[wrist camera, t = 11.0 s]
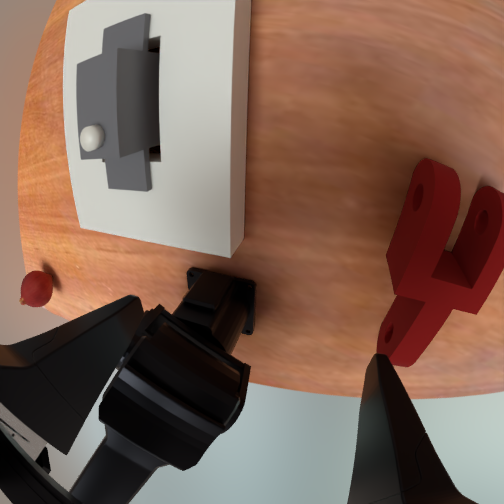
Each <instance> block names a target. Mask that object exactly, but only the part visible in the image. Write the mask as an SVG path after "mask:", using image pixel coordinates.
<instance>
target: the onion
mask: <svg viewBox="0 0 504 504" xmlns="http://www.w3.org/2000/svg"><path fill="white" fill-rule="evenodd" d="M52 293H53V277H52V276H51V275H50V274H47V273H44V272H41V271H32V272H30V273H28V274H27V275H26V276H25V278H24V279H23V282H22V285H21V298H20V300H19V302H20V304H21V305H24V304H27V305H29V306H32V307H41V306H44V305H45V304H47V303H48V302H49V300H50V299H51V296H52Z"/></svg>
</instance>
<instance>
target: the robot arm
mask: <svg viewBox="0 0 504 504" xmlns="http://www.w3.org/2000/svg"><path fill="white" fill-rule="evenodd" d="M192 273H193V274H194V275H193V274H192ZM187 281H188V289H189V291H188V292H187V293H186V295H185V296H184V297H183V301H182V302H181V303H180V305H179V306H178V307H177V308H176V310H175V311H174V312H173V314H170V313H169V312H168V311H166V310H165V308H164V307H163V306H162V305H160V304H159V305H158V306H157V307H156V308H155V309H154V310H153V309H151V310H150V311H148V310H146V311H145V312H144V311H143V307H142V304H141V300H140V298H139V297H138V296H135V295H128V296H125V297H123V298H121V299H119V300H116V301H114V302H112V303H110V304H107V305H105V306H103V307H101V308H98V309H96V310H94V311H92V312H89V313H87V314H85V315H83V316H81V317H78V318H76V319H74V320H72V321H69V322H67V323H65V324H63V325H61V326H59V327H56V328H54V329H52V330H49V331H47V332H45V333H42V334H40V335H37V336H35V337H32V338H29V339H26V340H24V341H21V342H18V343H15V344H12V345H0V489H1V490H2V491H3V493H4V494H5V495H6V496H7V497H8V499H9V500H10V501H11V502H12V503H13V504H129V502H130V501H131V500H132V499H133V497H134V496H135V495H136V494H137V493H138V492H139V490H140V489H141V488H142V487H143V485H144V484H145V483H146V482H147V481H148V479H149V478H150V477H151V476H152V474H153V473H154V472H155V471H156V470H157V468H159V467H162V466H167V465H172V466H174V467H176V468H178V469H180V470H182V471H184V470H186V469H189V468H191V467H193V466H195V465H196V464H197V463H198V462H199V460H200V459H201V457H202V456H203V454H204V453H205V451H206V450H207V449H208V447H209V446H210V445H211V443H212V442H213V441H214V440H215V439H216V438H217V437H218V436H219V435H220V434H222V433H224V432H225V431H227V430H228V429H229V428H230V427H231V426H232V425H233V424H234V423H235V422H236V420H237V419H238V417H239V415H240V413H241V411H242V409H243V407H244V404H245V399H246V393H247V387H248V381H249V375H250V369H251V366H249V365H248V364H246V363H242V362H241V361H239V360H238V359H236V358H235V357H233V356H231V353H232V351H233V349H234V347H235V345H236V343H237V341H238V338H239V336H240V334H241V333H242V334H246V335H252V334H253V331H254V321H255V303H256V284H255V282H253V281H251V280H247V279H242V278H237V277H232V276H228V275H223V274H218V273H214V272H209V271H205V270H200V269H196V268H190V269H189V270H188V271H187ZM248 285H250V286H251V287H249V286H248ZM115 368H116V369H117V370H118V372H117V373H116V375H115V376H114V378H113V380H112V381H111V383H110V384H109V386H108V387H107V389H106V391H105V392H104V394H103V399H102V402H101V403H100V405H99V421H100V422H102V423H103V424H105V430H106V436H105V437H104V439H103V440H102V442H101V443H100V445H99V446H98V448H97V449H96V451H95V452H94V454H93V455H92V457H91V458H90V460H89V461H88V463H87V464H86V466H85V467H84V469H83V470H82V472H81V474H80V475H79V477H78V478H77V480H76V481H75V483H74V484H73V486H72V487H71V489H70V491H69V492H68V491H67V490H65V489H64V488H63V487H62V486H61V485H60V484H58V483H57V482H56V481H55V480H54V479H53V478H51V477H50V476H49V475H48V474H49V473H50V471H51V469H50V463H49V457H48V450H47V448H46V447H45V445H46V444H47V443H49V444H51V445H52V446H53V447H55V448H56V449H57V450H59V451H60V452H62V453H63V454H65V455H67V454H68V452H69V450H70V449H71V447H72V445H73V443H74V441H75V439H76V437H77V435H78V433H79V431H80V429H81V428H82V426H83V424H84V422H85V420H86V418H87V416H88V415H89V413H90V411H91V409H92V407H93V406H94V404H95V402H96V400H97V399H98V397H99V395H100V393H101V392H102V390H103V388H104V386H105V385H106V383H107V381H108V380H109V378H110V376H111V374H112V373H113V371H114V370H115ZM425 432H426V430H425V428H424V426H423V424H422V422H421V420H420V418H419V416H418V414H417V412H416V410H415V407H414V406H413V404H412V402H411V399H410V398H409V396H408V394H407V392H406V390H405V388H404V386H403V384H402V382H401V380H400V378H399V376H398V375H397V373H396V371H395V369H394V367H393V365H392V363H391V362H390V360H389V358H388V356H387V355H386V354H381V353H376V354H374V356H373V358H372V359H371V361H370V363H369V365H368V367H367V369H366V374H365V381H364V387H363V393H362V399H361V404H360V412H359V423H358V434H357V445H356V452H355V460H354V468H353V474H352V480H351V486H350V492H349V498H348V503H347V504H478V503H476V502H474V501H472V500H470V499H468V498H467V497H465V496H464V495H462V494H461V493H460V492H459V491H458V490H457V488H456V487H455V485H454V483H453V482H452V480H451V478H450V476H449V475H448V473H447V471H446V469H445V468H444V466H443V464H442V463H441V460H440V459H439V457H438V455H437V453H436V452H435V449H434V447H433V445H432V443H431V441H430V439H429V437H428V434H427V433H425Z"/></svg>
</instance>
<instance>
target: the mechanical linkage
mask: <svg viewBox="0 0 504 504" xmlns="http://www.w3.org/2000/svg"><path fill="white" fill-rule="evenodd" d="M460 197H461V188H460V181H459V177H458V175H457V173H456V171H455V170H454V169H452V168H450V167H448V166H445V165H443V164H440V163H438V162H436V161H433V160H430V159H428V158H425V159H423V160H421V161H420V162H419V164H418V165H417V167H416V168H415V170H414V172H413V176H412V179H411V183H410V186H409V190H408V193H407V196H406V200H405V203H404V206H403V209H402V212H401V215H400V218H399V221H398V224H397V227H396V230H395V232H394V235H393V238H392V241H391V243H390V246H389V249H388V251H387V254H386V258H387V262H388V266H389V270H390V275H391V280H392V284H393V289H394V294H396V295H397V296H396V298H395V300H394V302H393V304H392V306H391V308H390V310H389V312H388V313H387V315H386V317H385V319H384V321H383V322H382V325H381V328H380V331H379V336H378V341H377V353H381V354H386V355H387V356H388V358H389V360H390V362H391V363H392V365H396V366H402V367H410V366H411V365H413V364H414V363H415V362H416V360H417V359H418V358H419V357H420V355H421V354H422V353H423V352H424V350H425V349H426V348H427V346H428V345H429V344H430V342H431V341H432V339H433V338H434V337H435V335H436V334H437V332H438V331H439V330H440V328H441V327H442V325H443V324H444V322H445V321H446V319H447V318H448V316H449V315H450V313H451V311H452V310H453V309H456V310H460V311H464V312H468V313H472V314H476V315H477V313H478V312H479V310H480V308H481V307H482V305H483V304H484V302H485V300H486V299H487V297H488V296H489V294H490V292H491V290H492V289H493V287H494V285H495V283H496V282H497V280H498V278H499V276H500V274H501V272H502V271H503V269H504V193H502V192H500V191H498V190H496V189H494V188H493V187H490V186H485V187H482V188H481V189H480V190H478V191H477V192H476V194H475V195H474V197H473V199H472V202H471V205H470V208H469V211H468V213H467V216H466V219H465V221H464V224H463V226H462V229H461V231H460V234H459V236H458V239H457V241H456V243H455V246H454V248H453V250H452V252H448V251H445V250H444V248H445V245H446V243H447V241H448V238H449V236H450V234H451V231H452V229H453V226H454V223H455V221H456V218H457V215H458V211H459V206H460Z"/></svg>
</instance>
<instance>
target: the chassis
mask: <svg viewBox="0 0 504 504" xmlns="http://www.w3.org/2000/svg"><path fill="white" fill-rule="evenodd" d="M144 13H147V14H150V15H151V18H150V30H149V45H148V50H149V49H153V48H157V47H160V62H159V124H160V149H161V153H149V158H150V171H151V183H152V189H151V190H150V191H148V192H144V191H132V190H119V189H109V188H108V181H107V174H106V165H105V159H87V160H81V157H80V148H79V137H78V124H77V101H76V74H77V64H78V63H80V62H82V61H85V60H87V59H90V58H92V57H94V56H97V55H99V54H102V43H103V31H104V29H105V28H107V27H109V26H112V25H114V24H117V23H119V22H122V21H124V20H127V19H130V18H132V17H135V16H138V15H141V14H144ZM250 20H251V0H86V1H85V2H83V3H81V4H80V5H78V6H76V7H75V8H73V9H71V10H70V11H69V15H68V22H67V30H66V39H65V50H64V67H63V108H64V126H65V138H66V148H67V157H68V164H69V171H70V178H71V184H72V189H73V195H74V200H75V205H76V209H77V214H78V218H79V223H80V227H81V228H85V229H89V230H94V231H99V232H104V233H109V234H113V235H118V236H123V237H128V238H133V239H138V240H143V241H147V242H152V243H157V244H162V245H167V246H172V247H177V248H182V249H187V250H192V251H197V252H202V253H207V254H213V255H218V256H223V257H228V258H231V256H232V255H233V254H234V252H235V251H236V249H237V248H238V247H239V245H240V244H241V242H242V241H243V239H244V213H245V172H246V135H247V102H248V73H249V45H250Z"/></svg>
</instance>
